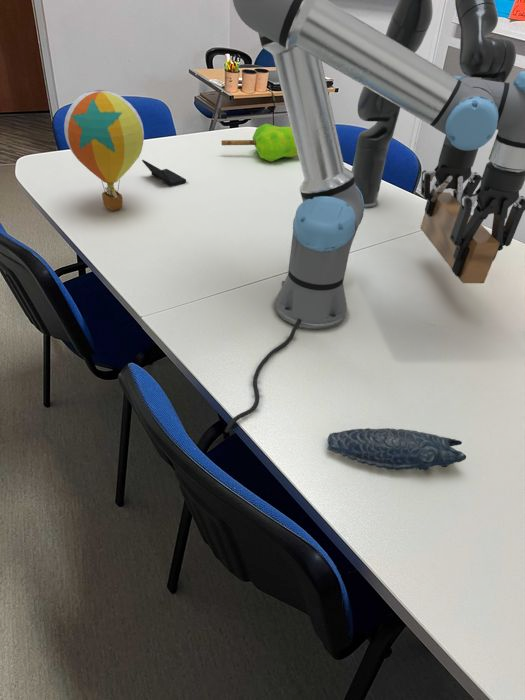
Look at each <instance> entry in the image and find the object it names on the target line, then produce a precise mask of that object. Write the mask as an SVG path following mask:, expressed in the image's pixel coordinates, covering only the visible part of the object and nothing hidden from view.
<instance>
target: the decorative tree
mask: <svg viewBox="0 0 525 700" xmlns="http://www.w3.org/2000/svg"><path fill="white" fill-rule="evenodd" d="M221 146H254V148H255V150H256V151H257V153H258V155H259V157H260V158H261V159H262V160H265V161H268V162H270V163H271V162H274V161H277V160H279V159H281V158H294V157H296V156H298V152H297V148H296V144H295V140H294V136H293V133H292V129H291V126H276V125H273V124H269V123H264V124H262V125H260V126H258V127H256V130H255V131H254V133H253V136H252V139H231V140H229V139H226V140H224V139H223V140H221Z"/></svg>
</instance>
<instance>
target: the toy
mask: <svg viewBox="0 0 525 700" xmlns="http://www.w3.org/2000/svg"><path fill="white" fill-rule="evenodd" d="M63 128H64V130H63V131H64V132H63V133H64V137H65V141H66V144H67V146H68V148H69V150H70V151H71V152H72V154H73V156H75V158H76V159H77V161H78V162H80V163H81V165H83V166H84V167H85V168H86V169H87V170H88V171H90V172H91V173H92V174H93V175H94V176H96V177H97V178H98V179H100V180H101V183H102V184H101V185H102V187H103V191H102V193H101V198H102V203H103V205H104V207H105V208H106V209H108V210H109V211H110V212H113V211H118V210H121V209H122V208H123V203H124V201H123V195H122V194H121V193H120V192H119V191H118V190H119V188H120V183H118V182H120V181H121V178H122V177H123V176H124V175H125V174H126V173H127V172H128V171H129V170H130V169H131V167H133V165H134V164H135V163H136V161H137V160H138V159H139V158H140V155H141V153H142V150H143V147H144V141H145V131H144V130H145V129H144V125H143V121H142V119H141V116H140V114H139V113H138V111H137V109H136V108H134V106H133V105H132V103H130V102H129V101H128V100H127V99H126V98H124V97H123V96H122V95H119V94H117V93H115V92H112V91H109V90H102V89H101V90H100V89H98V90H92V91H87V92H85V93H82V95H79V96H78V97H77V98H76V99H75V100H73V102H72V103H71V105H70V107H69V108H68V111H67V112H66V114H65V118H64V124H63ZM104 183H105V184H106V185H107V186H106V187H105V186H104ZM115 183H118V185H117V190H116V188H115Z"/></svg>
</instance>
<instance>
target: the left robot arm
mask: <svg viewBox="0 0 525 700" xmlns="http://www.w3.org/2000/svg"><path fill="white" fill-rule="evenodd" d="M232 3H233V7H234V10H235V11H236V14H237V16H238V18H240V20H241V21H242V22H243V24H245V25H246V26H247V27H248V28H249V29H251V30H253V31H254V32H256V33H257V34H258V37H259V42H260V45H261V48H262V49H264V50H265V51H267V52H268V53H270V54H271V55H272V58H273V62H274V66H275V70H276V74H277V78H278V81H279V86H280V88H281V93H282V98H283V101H284V105H285V109H286V113H287V117H288V120H289V125H290V127H291V129H292V133H293V136H294V140H295V144H296V148H297V152H298V155H297V157H298V160H299V163H300V167H301V172H302V175H303V180H302V183H301V184H300V186H299V192H300V196H301V200H302V202H301V203H300V204H299V205H298V207H297V209H296V210H295V215H294V218H293V220H292V237H291V243H290V244H291V246H290V255H289V262H288V263H289V264H288V270H287V271H288V272H287V275H286V278H285V279H284V280H281V287H280V290H279V291H278V294H277V296H276V300H275V311H276V313H277V315H278V316H279V317H280V318H281V319H282V320H283V321H284V322H286V323H287V324H289V325H291V326H293V327H292V329H291V332H290V334H289V335H288V337H287V338H286V339H285V340H284V341H283V342H282V343H281V344H280V345H278V346H277V347H275V348H273V349H271V350H270V351H269V352H268V354H267V355H265V356H264V358H263V359H262V360H261V361H260V363H259V364H258V366H257V368H256V370H255V372H254V374H253V379H252V387H253V391H254V392H253V393H254V402H253V404H252V406H251V407H250V408H249V409H246V410H245V411H243V412H241V413H239V414H237V415H235V416H234V417H233V418H232V419H231V420H230V421H229V423H227V425H226V427H225V429H224V432H225V434H227V433H230V432H231V429H232V428H233V426H234V425H235V424H236V423H237V422H238V421H239V420H240V419H242V418H245V417H247V416H249V415H250V414H252V413H254V411H256V409H257V408H258V406H259V403H260V391H259V386H258V377H259V375H260V372H261V370H262V369H263V367H264V366H265V364H266V363H267V362H268V361H269V359H270V358H271V357H273V355H274V354H276V353H277V352H279V351H280V350H282V349H283V348H285V347H286V346H287V345H289V343H290V342H291V341H292V340H293V338H294V336H295V334H296V332H297V329H298V328H300V329H304V330H310V331H324V330H325V331H326V330H329V329H333V328H336V327H337V326H339V325H340V324H342V323H343V322H344V320H345V318H346V315H347V310H348V307H347V306H348V305H347V297H346V292H345V286H344V280H345V275H346V271H347V267H348V266H347V265H348V260H349V257H350V251H351V247H352V245H353V242H354V239H355V236H356V234H357V231H358V229H359V227H360V224H361V223H362V220H363V218H364V212H365V207H364V201H363V196H362V194H361V192H360V190H359V189H358V187H357V186H356V184H355V179H354V174H353V172H352V170H350V169H348V168H347V167H345V163H344V158H343V154H342V150H341V145H340V141H339V135H338V131H337V126H336V122H335V116H334V111H333V108H332V103H331V99H330V94H329V89H328V85H327V79H326V74H325V72H324V71H325V70H324V65H323V63H324V64H325V65H328V66H329V67H331V68H332V69H334V70H335V71H338V72H340V73H341V74H343V75H345V76H346V77H347V78H350V79H351V80H353V81H355V82H356V83H358V84H360V85H362V86H363V87H364V86H365V87H367V88H368V89H370V90H372V91H373V92H375V93H377V94H379V95H380V96H382V97H384V98H385V99H387V100H389V101H390V102H392V103H394V104H396V105H397V106H399V107H400V109H403V110H404V111H406V112H408V113H409V114H411V115H412V116H414V117H416V118H418V119H419V120H421V121H423V122H425V123H426V124H428V125H430V126H431V127H432V128H434V129H436V130H437V131H439V132H440V133H442V134H444V135H445V136H447V138H448V139H449V141H450V142H451V144H452V145H454V146H455V147H456V148H458V149H461V150H475V149H478V148H482V147H483V146H485V145H486V144H488V143H489V142H490V141H491V139H493V137H494V135H495V133H496V132H497V133H496V136H495V139H494V142H493V145H492V147H491V150H490V154H489V156H488V162H487V163H486V165H485V167H484V170H483V173H482V175H481V177H482V179H481V181H480V185H479V187H478V189H476V190H475V191H474V193H473V194H472V195H468V196H467V195H466V194H463V195H462V196H461V206H460V209H459V212H458V215H457V218H456V221H455V224H454V227H453V230H452V233H451V236H450V240H451V241H452V242H453V243H454V244H455V245H457V246H456V249H455V252H454V255H453V258H454V259H455V262H454V265H453V268H452V269H451V271H452V273H453V274H454V276H455V277H457V278H458V277H460V275H461V272H462V269H463V266H464V264H465V261H466V258H467V255H468V253H469V250H470V249H469V248H468V247H467V246H468V244H469V243H470V241H471V239H472V238H473V236H474V235H475V233H476V231H477V230H478V228H479V227H480V225H482V223H483V222H484V220H487V218H488V216H489V215H491V214H493V220H492V227H491V233H490V234H491V235H492V236H493V237H494V238H495V239H496V240H497V241H498V242H499V243H500V244H499V247H498V249H497V252H496V254H495V257H494V259H493V262H494V261H495V259H496V257H497V254H498V253H499V252H500V251H503V249H504V246H505V247H509V246H510V245H511V244H512V241H513V238H514V236H515V233H516V231H517V229H518V226H519V224H520V222H521V219H522V217H523V214H524V212H525V196H524V195H520V191H521V190H522V189H523V187H524V184H525V70H521V71H520V72H518V73H517V75H516V77H515V79H514V80H513V82H511V81H509V82H505V83H503V82H496V81H490V80H483V79H481V78H472V77H468V76H466V75H453V74H451V73H449V72H448V71H446V70H444V68H443V69H442V68H441V67H439V66H437V65H436V64H434V63H433V62H431V61H429V60H428V59H426V58H424V57H423V56H421V55H419V54H418V53H417V52H415V53H414V52H413V51H411V50H409V49H408V48H406V47H404V46H403V45H401V44H399V43H398V42H396V41H394V40H393V39H391V38H389V37H388V36H386V34H384V33H382V32H381V31H379V30H377V29H376V28H374V27H373V26H371V25H370V24H367V23H366V22H364V21H363V20H361V19H359V18H358V17H356V16H354V15H353V14H351V13H349V12H348V11H346V10H344V9H343V8H341V7H339V6H338V5H336V4H334V3H333V2H331V1H329V0H232ZM478 150H479V149H478ZM475 203H476V206H475ZM473 207H474V209H473ZM510 207H511V208H510ZM509 208H510V209H509ZM472 211H473V213H472ZM508 212H509V214H508ZM471 213H472V214H473V215H472V216H471V218H470V220H469V221H468V219H469V216H470V214H471ZM467 222H468V223H467Z"/></svg>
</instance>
